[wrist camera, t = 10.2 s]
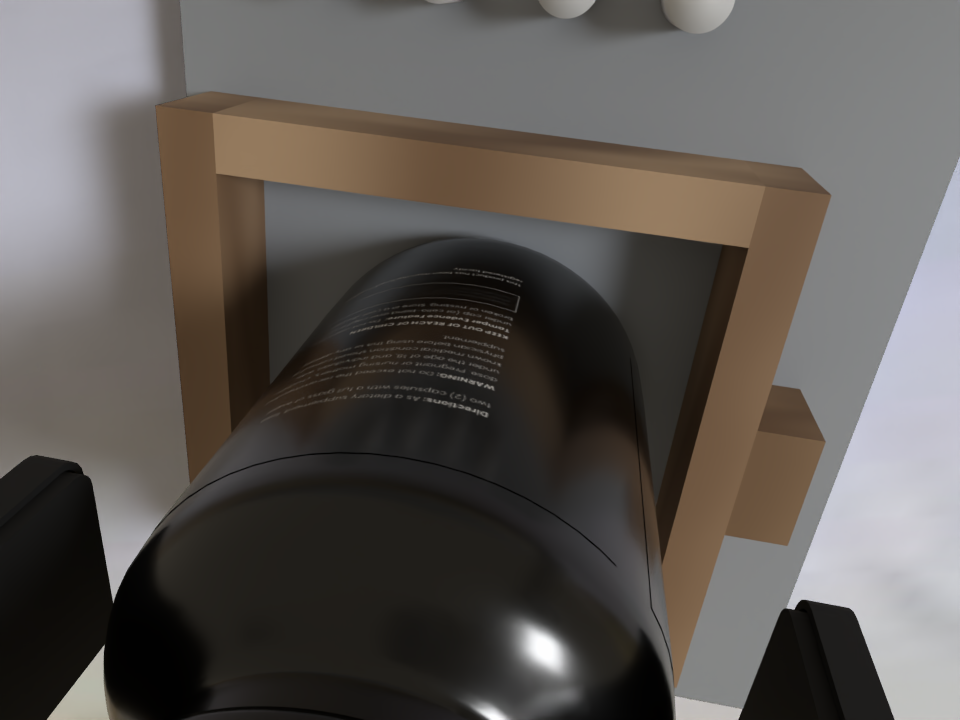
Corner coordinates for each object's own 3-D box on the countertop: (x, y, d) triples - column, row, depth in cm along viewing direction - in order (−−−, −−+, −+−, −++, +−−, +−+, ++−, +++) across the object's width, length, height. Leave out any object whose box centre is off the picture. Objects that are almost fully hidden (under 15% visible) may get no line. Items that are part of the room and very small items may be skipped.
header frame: (871, 177, 13) (912, 206, 12) (719, 629, 18) (731, 698, 16) (211, 91, 14) (155, 105, 13) (237, 540, 19) (200, 596, 18)
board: (1023, -106, 12) (1121, -128, 10) (739, 672, 20) (756, 759, 18) (199, -186, 13) (116, -221, 11) (242, 578, 22) (199, 649, 19)
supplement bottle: (287, 432, 18) (-202, 1113, 7) (396, 168, 14) (-190, 663, 4) (549, 557, 18) (470, 1377, 7) (709, 326, 15) (969, 1162, 4)
